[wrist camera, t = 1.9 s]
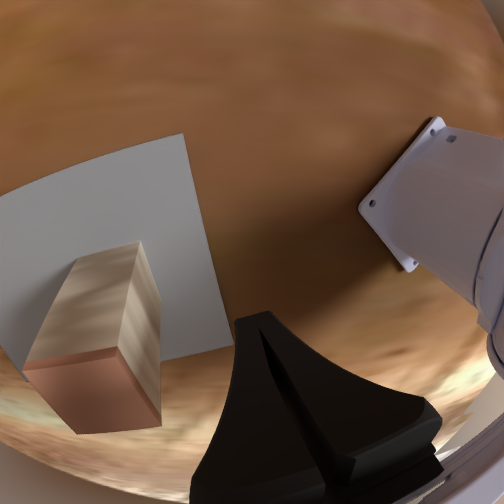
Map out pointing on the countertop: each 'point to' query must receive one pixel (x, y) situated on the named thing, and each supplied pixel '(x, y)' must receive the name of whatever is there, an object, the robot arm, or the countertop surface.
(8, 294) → the rubber mat
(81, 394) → the birch block
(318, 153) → the countertop surface
